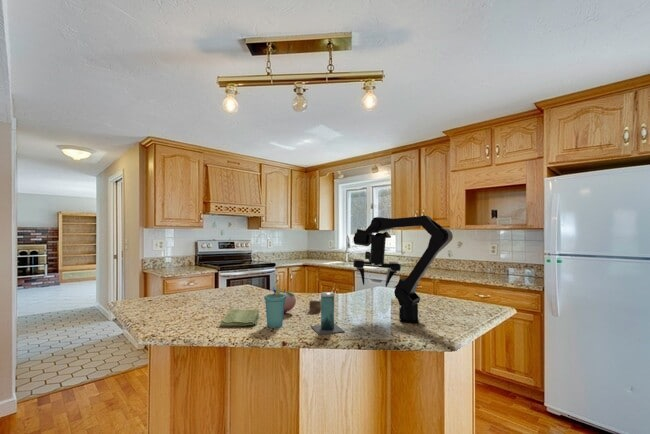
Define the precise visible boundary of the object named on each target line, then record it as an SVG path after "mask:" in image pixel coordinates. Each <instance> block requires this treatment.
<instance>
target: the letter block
mask: <svg viewBox="0 0 650 434" xmlns="http://www.w3.org/2000/svg"><path fill="white" fill-rule="evenodd" d="M309 313H321V298H311V299H310V300H309Z"/></svg>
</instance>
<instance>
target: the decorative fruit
mask: <svg viewBox="0 0 650 434" xmlns="http://www.w3.org/2000/svg"><path fill="white" fill-rule="evenodd" d="M280 294H283V295H285V296H286V299H285V303H284V313H283V314H286V313H288V312H289V311H291V310H292V309H293V308H294V307H295V305H296V303H297V298H296V295H295V294H294V292H292V291H286V290H280Z"/></svg>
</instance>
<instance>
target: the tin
mask: <svg viewBox="0 0 650 434" xmlns="http://www.w3.org/2000/svg"><path fill="white" fill-rule="evenodd" d="M320 299H321V311H320V325H321V329H322V330H333V329H334V324H335V292H331V291H330V292H329V291H325V292H320Z"/></svg>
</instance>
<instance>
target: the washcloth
mask: <svg viewBox="0 0 650 434" xmlns="http://www.w3.org/2000/svg"><path fill="white" fill-rule="evenodd" d="M259 312H260V311H259V309H256V308H255V309H253V308H252V309H248V308H246V309H239V308H233V309H232V308H231V309H229V310H228V312H227V313H226V315H225V316H224V317H223V318H222V320H221V322H220V324H219V326H220V327H222V328H232V327H237V328H238V327H253V326H254V327H256V326H258V323H259V317H260V313H259ZM255 325H256V326H255Z"/></svg>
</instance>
